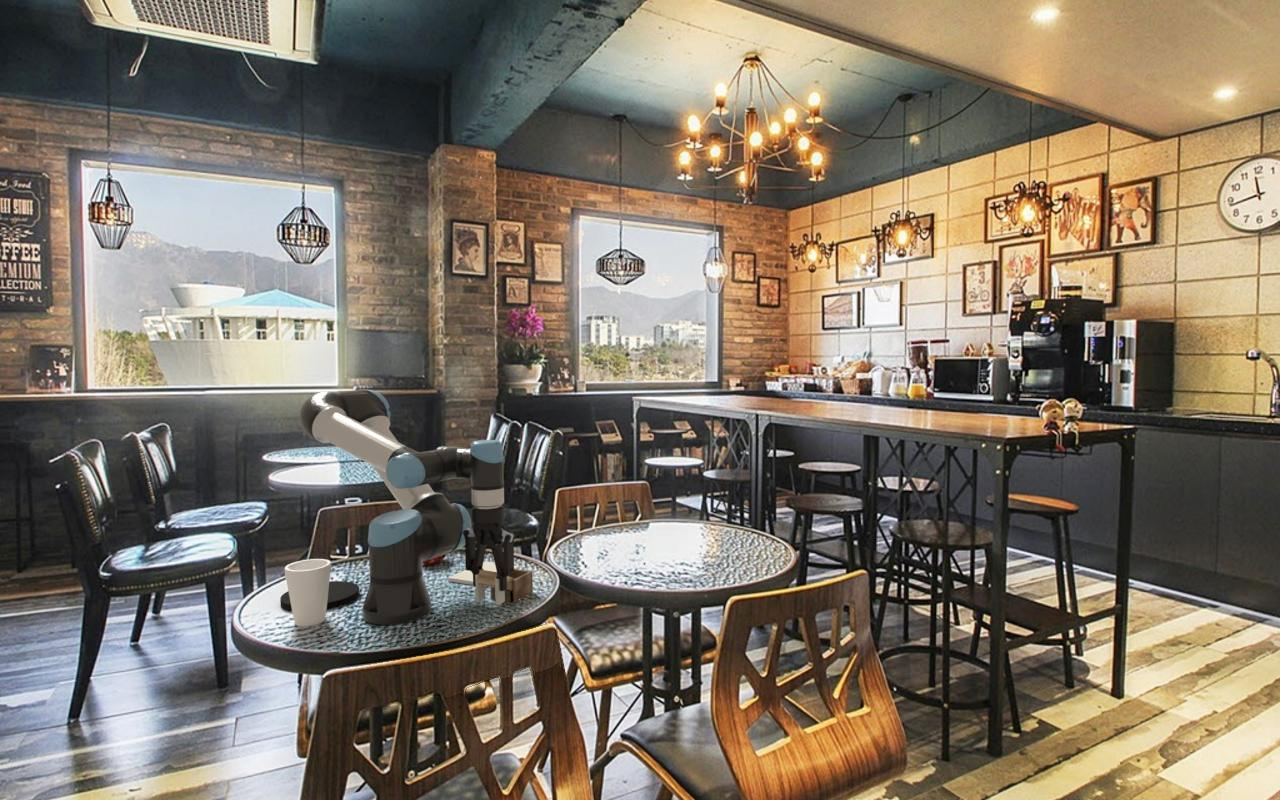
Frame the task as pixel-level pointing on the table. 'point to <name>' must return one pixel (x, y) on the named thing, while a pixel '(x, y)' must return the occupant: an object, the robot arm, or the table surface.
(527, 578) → the box
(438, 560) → the dragon fruit
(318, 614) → the foam cup
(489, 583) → the maple bar
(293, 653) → the table surface
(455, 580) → the cream pad
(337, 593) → the wireless charger
